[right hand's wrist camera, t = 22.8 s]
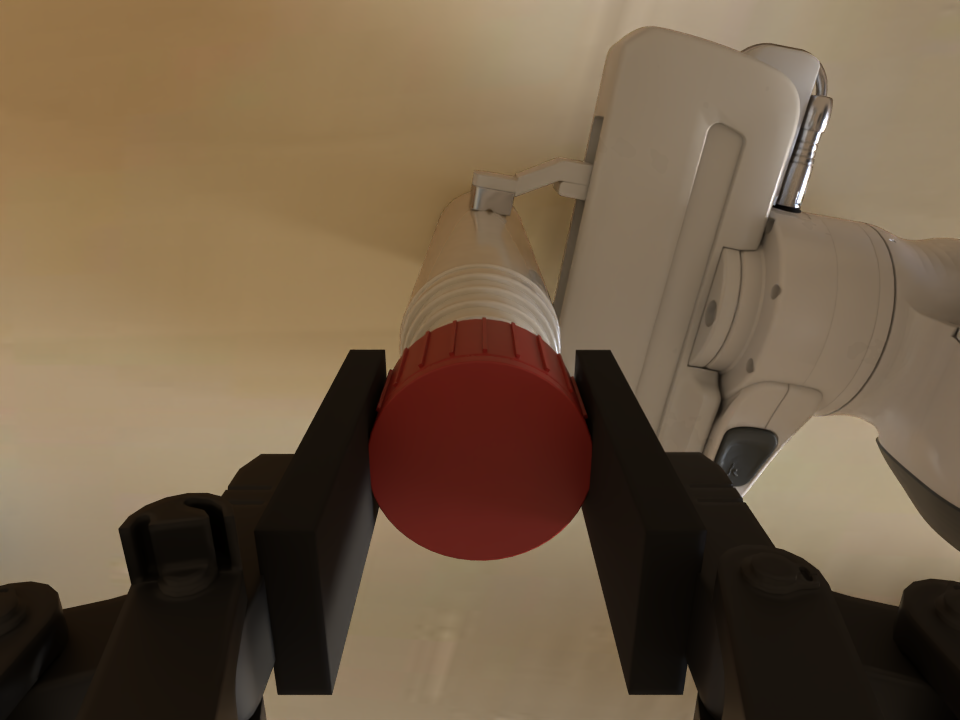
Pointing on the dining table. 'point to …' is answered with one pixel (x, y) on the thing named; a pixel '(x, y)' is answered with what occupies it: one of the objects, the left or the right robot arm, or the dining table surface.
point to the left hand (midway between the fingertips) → (459, 258)
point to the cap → (480, 442)
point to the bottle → (479, 277)
